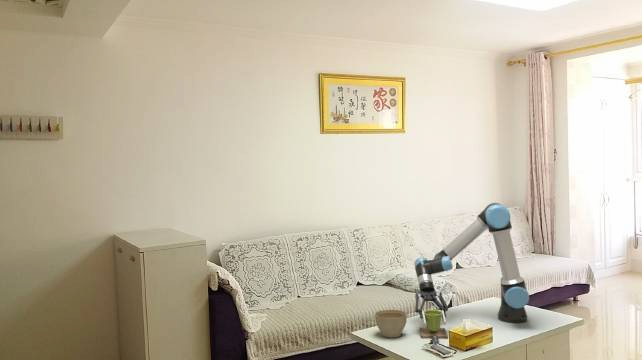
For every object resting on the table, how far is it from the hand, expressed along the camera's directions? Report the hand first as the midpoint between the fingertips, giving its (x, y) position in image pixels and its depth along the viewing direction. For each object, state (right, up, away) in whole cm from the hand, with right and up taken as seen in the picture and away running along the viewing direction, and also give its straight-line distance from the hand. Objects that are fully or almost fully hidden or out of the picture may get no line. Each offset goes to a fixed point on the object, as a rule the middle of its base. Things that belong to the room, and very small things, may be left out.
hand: (434, 323), depth 267 cm
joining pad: (0, -6, +3) cm, 7 cm away
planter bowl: (-21, -7, +4) cm, 23 cm away
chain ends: (0, -6, +1) cm, 6 cm away
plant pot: (0, -4, +3) cm, 5 cm away
